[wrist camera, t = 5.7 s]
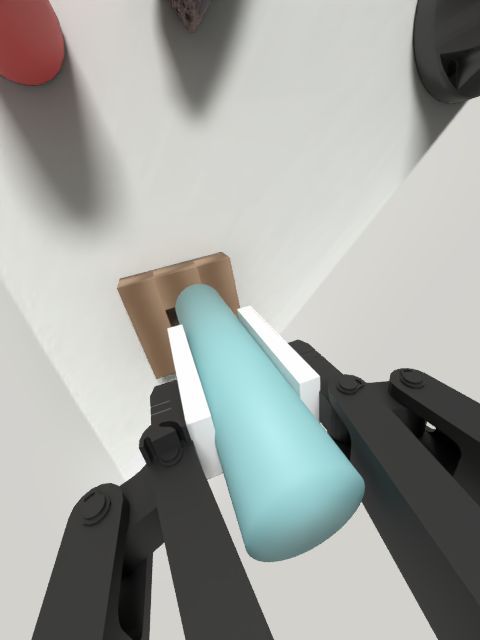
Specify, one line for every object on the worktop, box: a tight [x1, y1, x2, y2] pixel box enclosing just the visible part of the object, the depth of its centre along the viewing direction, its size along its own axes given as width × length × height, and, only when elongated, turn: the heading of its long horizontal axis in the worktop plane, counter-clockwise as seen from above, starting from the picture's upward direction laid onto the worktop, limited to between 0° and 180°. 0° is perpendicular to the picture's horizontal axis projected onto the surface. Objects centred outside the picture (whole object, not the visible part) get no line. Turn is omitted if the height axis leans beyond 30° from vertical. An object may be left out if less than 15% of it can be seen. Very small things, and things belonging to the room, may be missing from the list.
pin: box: [175, 284, 365, 562], centre depth 12 cm, size 3×3×14 cm
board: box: [117, 252, 240, 379], centre depth 32 cm, size 12×12×4 cm
